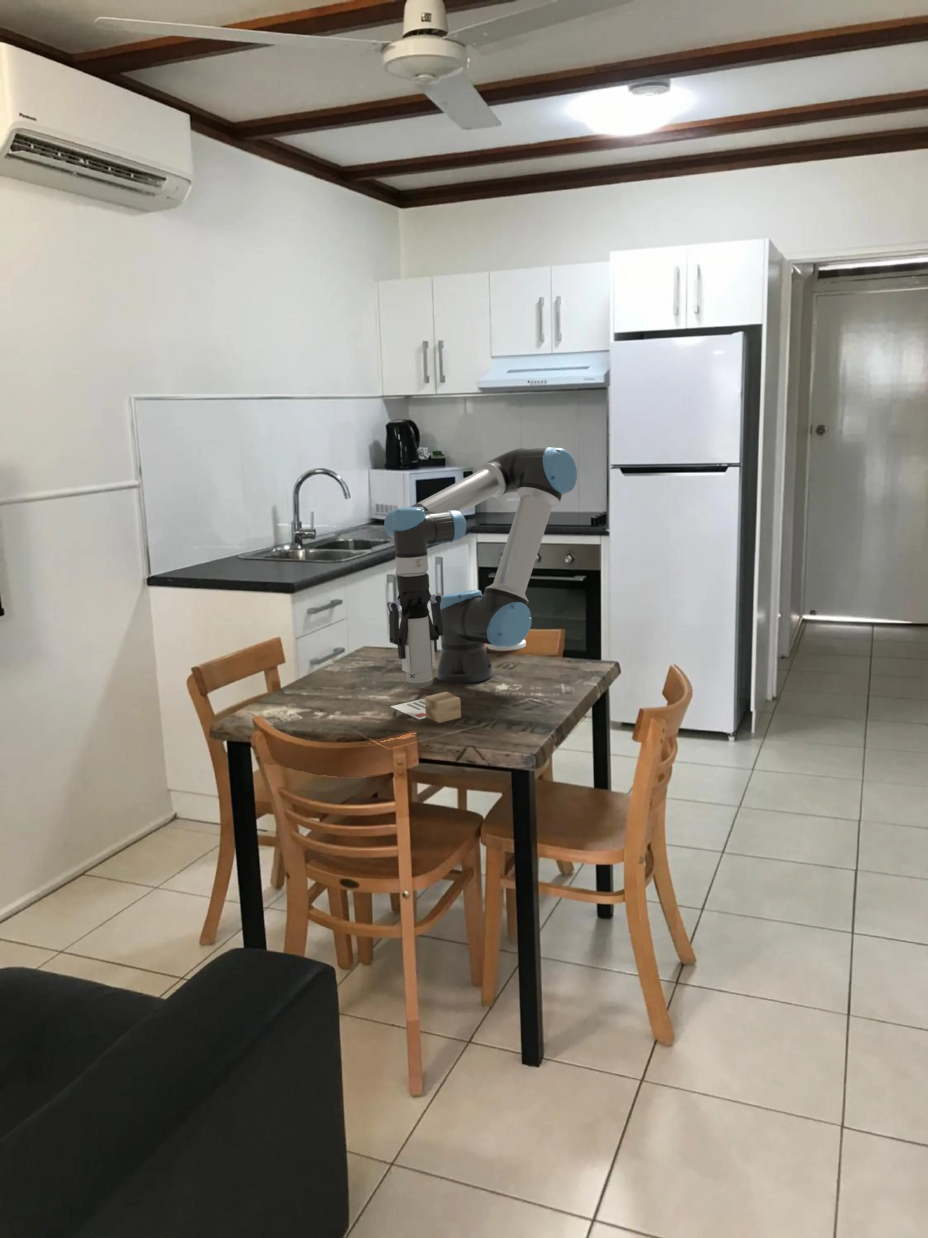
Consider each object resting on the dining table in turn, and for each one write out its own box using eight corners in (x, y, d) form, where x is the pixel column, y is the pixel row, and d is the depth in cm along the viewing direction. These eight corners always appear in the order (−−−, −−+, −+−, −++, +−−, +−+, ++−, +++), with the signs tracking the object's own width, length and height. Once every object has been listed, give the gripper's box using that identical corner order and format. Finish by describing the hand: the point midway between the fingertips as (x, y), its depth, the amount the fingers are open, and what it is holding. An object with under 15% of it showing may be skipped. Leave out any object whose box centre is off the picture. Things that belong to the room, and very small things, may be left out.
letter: (390, 707, 245) (390, 706, 245) (425, 699, 250) (425, 698, 250) (419, 720, 233) (419, 719, 233) (455, 711, 238) (455, 710, 238)
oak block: (425, 716, 235) (424, 696, 233) (447, 711, 238) (446, 691, 236) (439, 724, 230) (438, 703, 228) (461, 718, 233) (460, 698, 231)
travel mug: (413, 689, 236) (408, 606, 232) (402, 683, 242) (396, 602, 238) (437, 685, 239) (432, 602, 235) (425, 679, 244) (420, 598, 240)
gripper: (384, 580, 226) (391, 679, 231) (455, 569, 237) (461, 664, 241) (368, 577, 233) (376, 673, 237) (439, 566, 243) (444, 658, 247)
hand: (418, 668), depth 239 cm, fingers closed on travel mug, 6 cm apart
